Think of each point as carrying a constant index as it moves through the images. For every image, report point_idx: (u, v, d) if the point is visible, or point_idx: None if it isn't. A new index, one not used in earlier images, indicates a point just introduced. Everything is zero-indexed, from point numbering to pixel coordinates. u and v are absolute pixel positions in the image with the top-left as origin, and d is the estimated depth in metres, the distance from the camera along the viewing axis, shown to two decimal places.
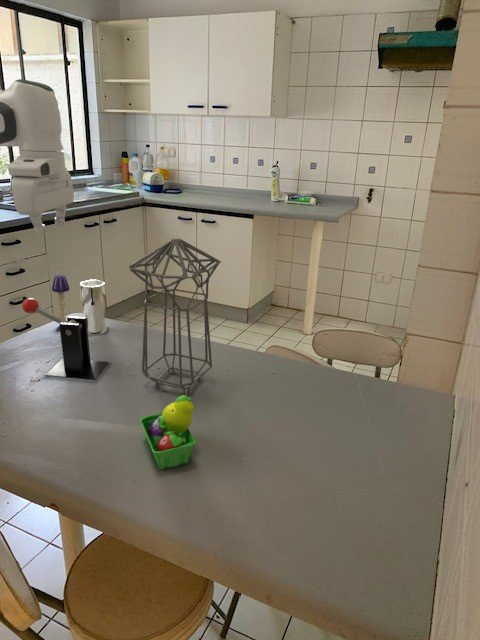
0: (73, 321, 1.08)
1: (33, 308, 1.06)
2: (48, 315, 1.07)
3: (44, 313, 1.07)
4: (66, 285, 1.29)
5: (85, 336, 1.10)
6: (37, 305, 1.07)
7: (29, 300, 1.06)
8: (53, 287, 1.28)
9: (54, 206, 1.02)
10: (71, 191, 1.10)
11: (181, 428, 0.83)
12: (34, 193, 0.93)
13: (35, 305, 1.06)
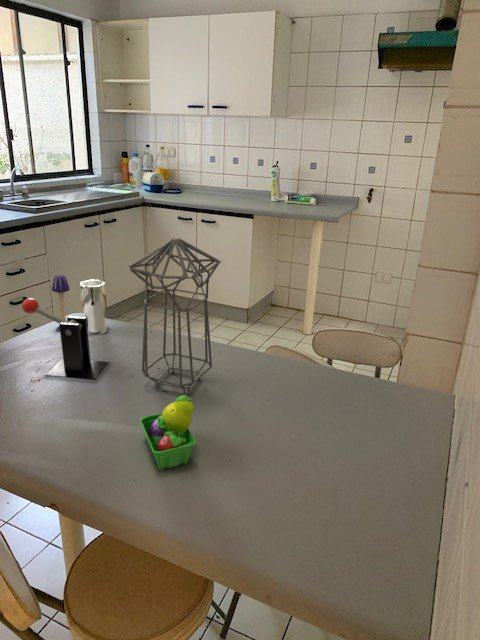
0: (73, 321, 1.08)
1: (33, 308, 1.06)
2: (48, 315, 1.07)
3: (44, 313, 1.07)
4: (66, 285, 1.29)
5: (85, 336, 1.10)
6: (37, 305, 1.07)
7: (29, 300, 1.06)
8: (53, 287, 1.28)
9: None
10: None
11: (181, 428, 0.83)
12: None
13: (35, 305, 1.06)
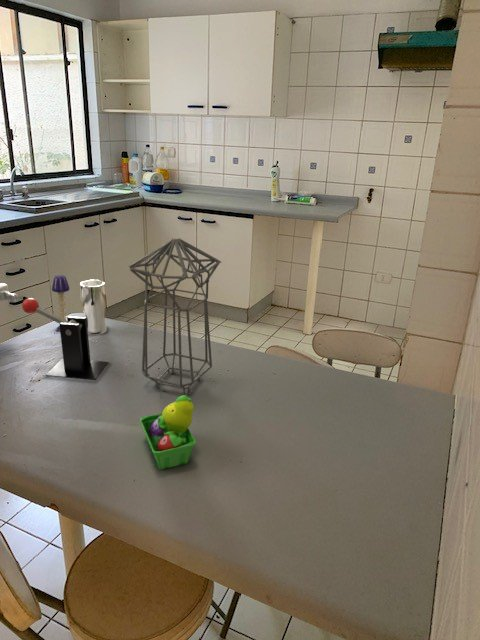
0: (73, 321, 1.08)
1: (33, 308, 1.06)
2: (48, 315, 1.07)
3: (44, 313, 1.07)
4: (66, 285, 1.29)
5: (85, 336, 1.10)
6: (37, 305, 1.07)
7: (29, 300, 1.06)
8: (53, 287, 1.28)
9: None
10: None
11: (181, 428, 0.83)
12: None
13: (35, 305, 1.06)
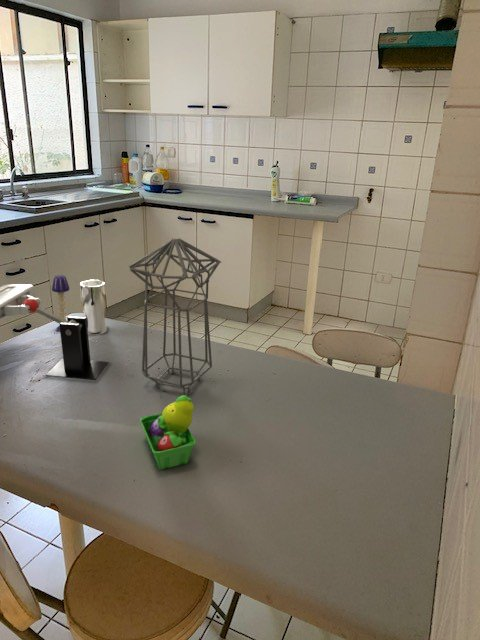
0: (73, 321, 1.08)
1: (33, 308, 1.06)
2: (48, 315, 1.07)
3: (44, 313, 1.07)
4: (66, 285, 1.29)
5: (85, 336, 1.10)
6: (37, 305, 1.07)
7: (29, 300, 1.06)
8: (53, 287, 1.28)
9: (10, 298, 1.06)
10: (21, 285, 1.15)
11: (181, 428, 0.83)
12: None
13: (35, 305, 1.06)
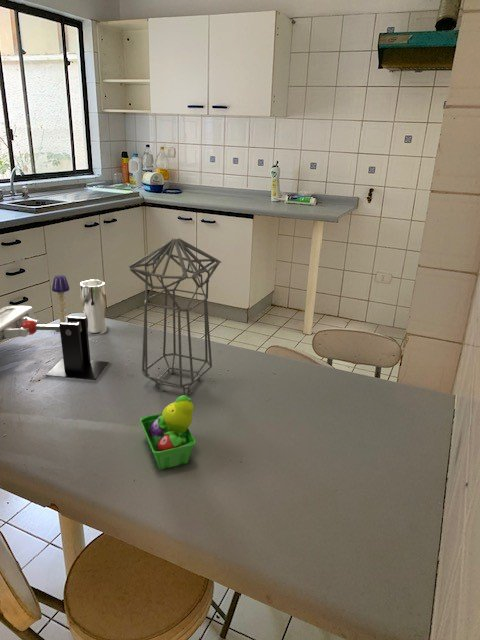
0: (70, 322, 1.08)
1: (31, 327, 1.08)
2: (47, 327, 1.08)
3: (43, 327, 1.08)
4: (66, 285, 1.29)
5: (85, 336, 1.10)
6: (34, 323, 1.09)
7: (25, 322, 1.08)
8: (53, 287, 1.28)
9: (9, 320, 1.08)
10: (21, 307, 1.17)
11: (181, 428, 0.83)
12: None
13: (32, 324, 1.08)
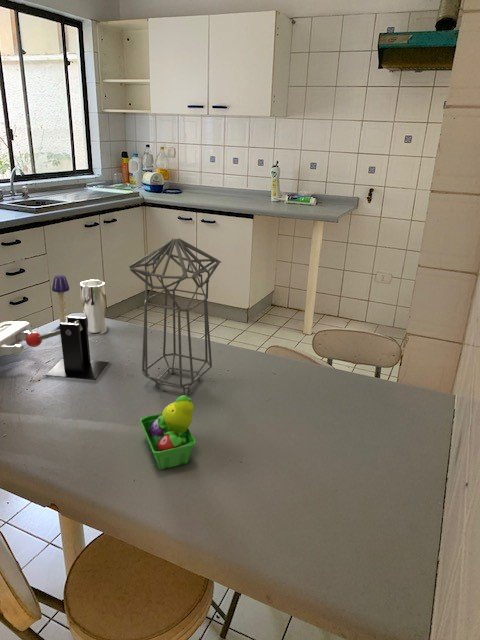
0: None
1: (34, 338, 1.09)
2: (49, 334, 1.09)
3: (45, 335, 1.09)
4: (66, 285, 1.29)
5: (85, 336, 1.10)
6: (37, 334, 1.10)
7: (28, 335, 1.09)
8: (53, 287, 1.28)
9: (7, 335, 1.09)
10: (18, 322, 1.17)
11: (181, 428, 0.83)
12: None
13: (35, 335, 1.09)
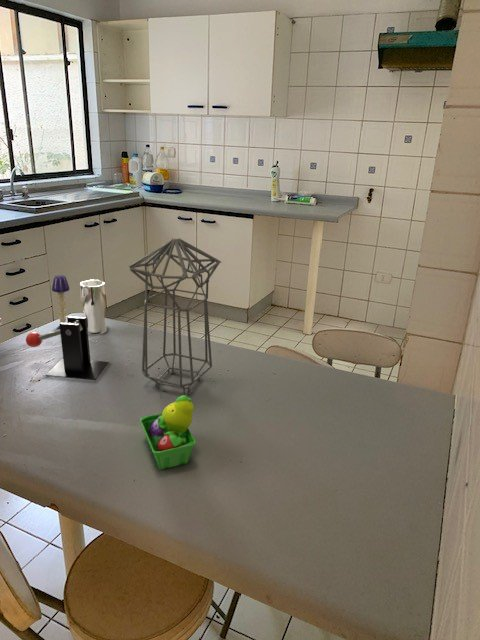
0: None
1: (35, 338, 1.09)
2: (49, 334, 1.09)
3: (45, 335, 1.09)
4: (66, 285, 1.29)
5: (85, 336, 1.10)
6: (37, 334, 1.10)
7: (28, 335, 1.09)
8: (53, 287, 1.28)
9: None
10: None
11: (181, 428, 0.83)
12: None
13: (35, 335, 1.09)
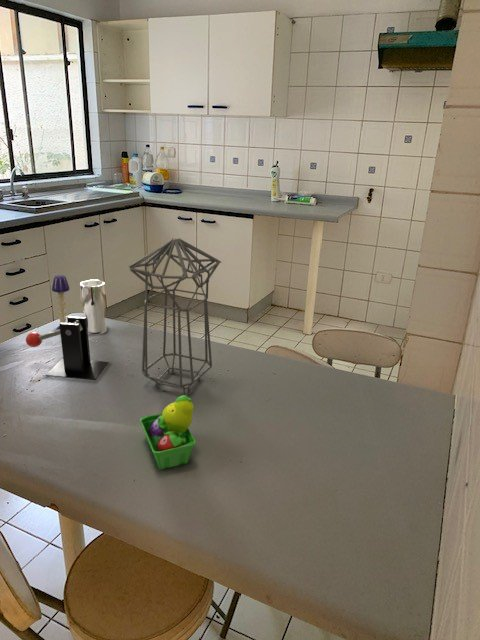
0: None
1: (35, 338, 1.09)
2: (49, 334, 1.09)
3: (45, 335, 1.09)
4: (66, 285, 1.29)
5: (85, 336, 1.10)
6: (37, 334, 1.10)
7: (28, 335, 1.09)
8: (53, 287, 1.28)
9: None
10: None
11: (181, 428, 0.83)
12: None
13: (35, 335, 1.09)
